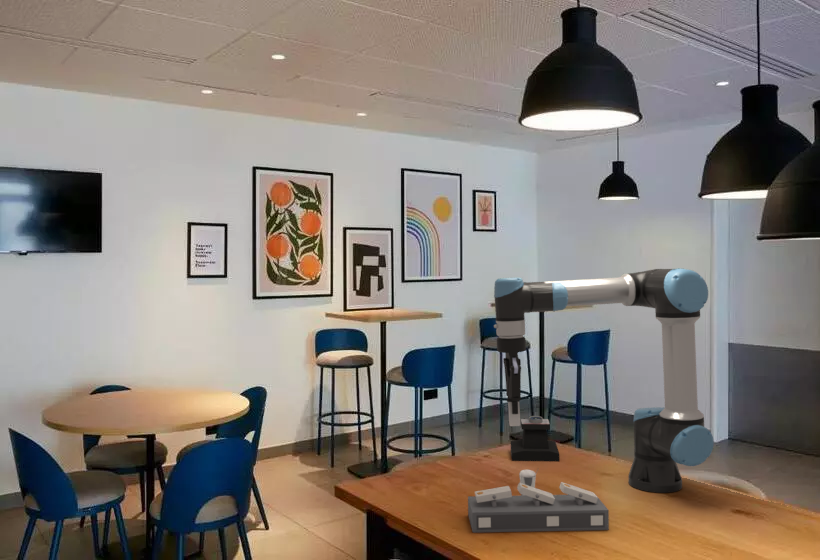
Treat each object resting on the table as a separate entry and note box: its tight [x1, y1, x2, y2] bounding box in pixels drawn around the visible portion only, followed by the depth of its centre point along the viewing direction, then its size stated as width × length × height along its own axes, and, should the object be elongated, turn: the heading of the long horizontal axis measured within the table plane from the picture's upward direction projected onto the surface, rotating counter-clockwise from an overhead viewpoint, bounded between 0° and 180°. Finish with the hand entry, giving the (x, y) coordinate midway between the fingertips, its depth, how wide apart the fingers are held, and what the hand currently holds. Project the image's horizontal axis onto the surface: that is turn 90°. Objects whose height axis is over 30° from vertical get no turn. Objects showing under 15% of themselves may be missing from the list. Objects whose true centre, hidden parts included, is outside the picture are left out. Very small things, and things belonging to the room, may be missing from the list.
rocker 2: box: [559, 481, 599, 503], centre depth 177 cm, size 9×5×2 cm, turn 91°
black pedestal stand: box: [510, 415, 560, 462], centre depth 239 cm, size 16×14×15 cm
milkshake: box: [519, 469, 539, 496], centre depth 191 cm, size 4×5×10 cm
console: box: [467, 493, 610, 533], centre depth 177 cm, size 34×12×6 cm, turn 90°
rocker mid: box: [516, 482, 555, 504], centre depth 177 cm, size 9×5×2 cm, turn 91°
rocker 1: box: [474, 485, 513, 503], centre depth 177 cm, size 9×5×2 cm, turn 90°
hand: (514, 425), depth 181 cm, fingers closed
